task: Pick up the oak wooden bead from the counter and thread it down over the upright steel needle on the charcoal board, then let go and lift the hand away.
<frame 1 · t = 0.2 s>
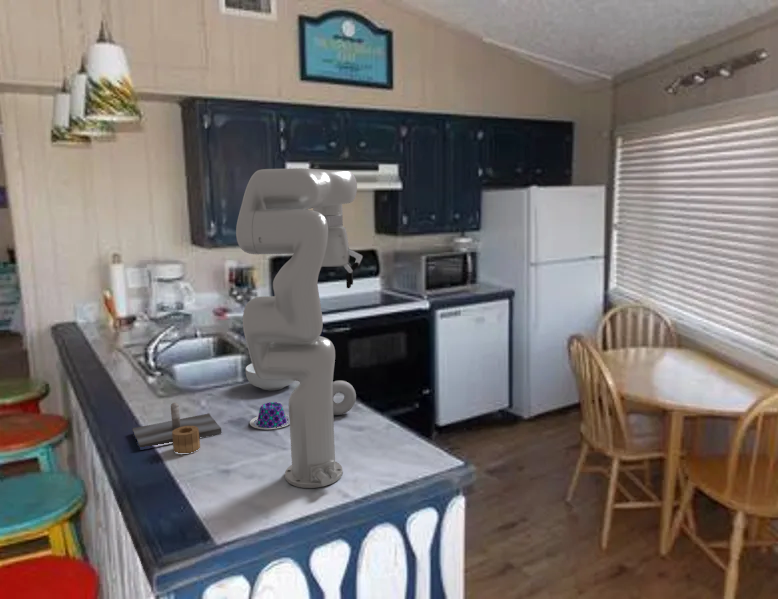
hand: (330, 287, 161), 37 cm above the worktop, tool pointing down, fingers open, 9 cm apart
cereal bowl: (273, 387, 198), on the worktop
bead: (187, 449, 150), on the worktop
donut: (339, 415, 172), on the worktop
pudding: (272, 424, 167), on the worktop
needle stand: (177, 433, 161), on the worktop
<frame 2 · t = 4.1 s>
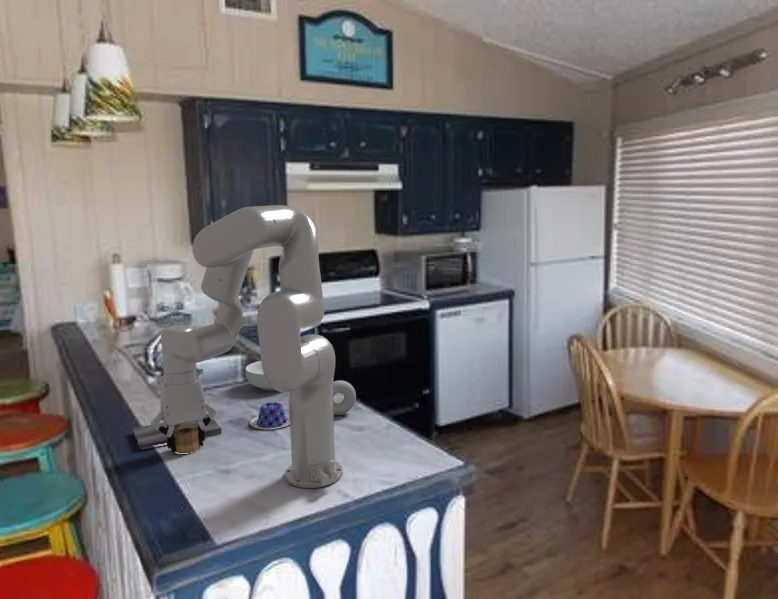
hand: (186, 446, 150), 1 cm above the worktop, tool pointing down, fingers closed on bead, 6 cm apart
bead: (187, 449, 150), on the worktop, touching gripper
everything else where it was.
when the fingers open (6 cm above the worktop, at t = 9.0 s): bead drops 4 cm, resting on needle stand.
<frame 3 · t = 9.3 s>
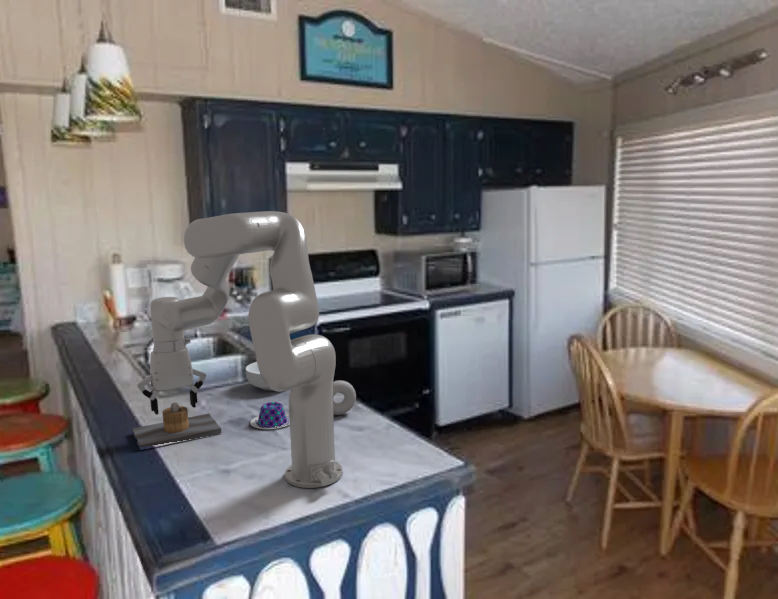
hand: (174, 409, 160), 7 cm above the worktop, tool pointing down, fingers open, 9 cm apart
bead: (176, 428, 160), point 1 cm above the worktop, touching needle stand
everything else where it was.
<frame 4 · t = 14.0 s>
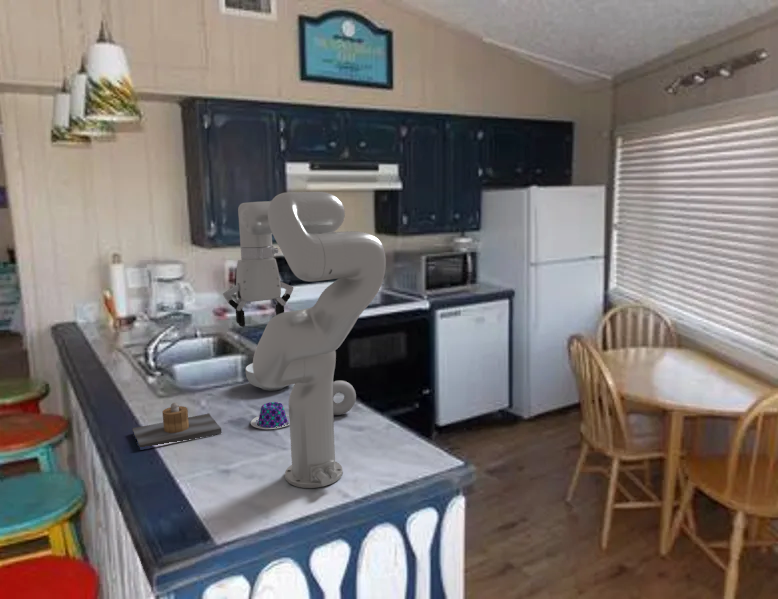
hand: (261, 323, 150), 30 cm above the worktop, tool pointing down, fingers open, 9 cm apart
nothing on the worktop moved.
at the end: bead 0.0 cm off-centre on the needle stand, point 1.5 cm above the needle stand's base; the gripper is holding nothing; bead tilted 0° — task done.
